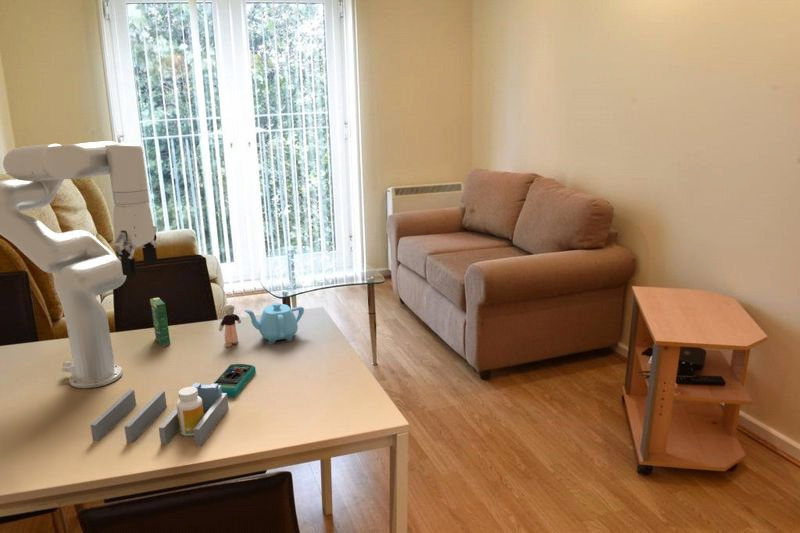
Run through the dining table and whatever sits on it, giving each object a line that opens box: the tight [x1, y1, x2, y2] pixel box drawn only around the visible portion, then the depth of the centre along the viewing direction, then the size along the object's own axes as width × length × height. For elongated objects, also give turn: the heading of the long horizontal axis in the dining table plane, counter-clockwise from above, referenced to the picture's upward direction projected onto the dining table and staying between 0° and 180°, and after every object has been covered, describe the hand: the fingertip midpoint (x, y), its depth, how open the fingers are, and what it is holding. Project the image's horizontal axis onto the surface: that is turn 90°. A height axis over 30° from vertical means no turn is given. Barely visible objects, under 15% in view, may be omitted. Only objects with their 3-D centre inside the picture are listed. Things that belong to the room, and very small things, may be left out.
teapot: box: [243, 302, 305, 344], centre depth 183 cm, size 13×14×11 cm
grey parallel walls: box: [89, 382, 229, 447], centre depth 136 cm, size 24×16×7 cm, turn 84°
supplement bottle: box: [176, 386, 205, 437], centre depth 133 cm, size 5×5×10 cm
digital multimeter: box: [212, 363, 257, 398], centre depth 156 cm, size 7×15×3 cm, turn 172°
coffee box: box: [149, 297, 171, 347], centre depth 182 cm, size 8×3×13 cm, turn 34°
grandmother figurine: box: [218, 303, 242, 348], centre depth 180 cm, size 8×4×13 cm, turn 154°
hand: (140, 269), depth 143 cm, fingers open, 9 cm apart
